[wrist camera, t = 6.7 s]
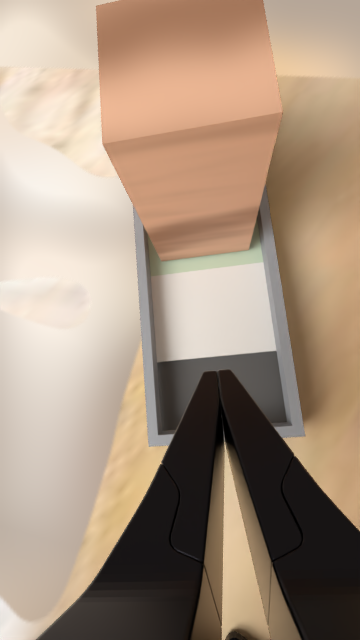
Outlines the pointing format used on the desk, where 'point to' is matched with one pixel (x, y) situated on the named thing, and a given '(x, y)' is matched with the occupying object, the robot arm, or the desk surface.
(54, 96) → the desk surface
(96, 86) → the desk surface
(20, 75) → the desk surface
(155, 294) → the trap box
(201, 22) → the terracotta block
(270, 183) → the desk surface
